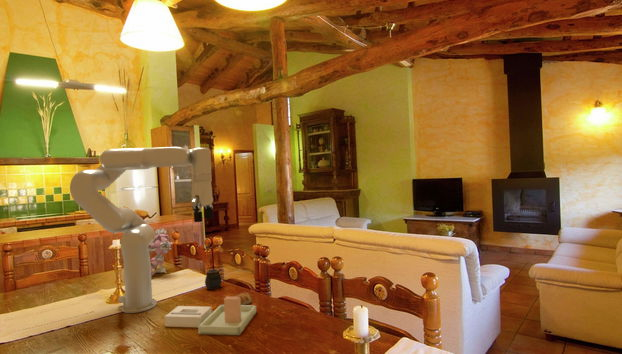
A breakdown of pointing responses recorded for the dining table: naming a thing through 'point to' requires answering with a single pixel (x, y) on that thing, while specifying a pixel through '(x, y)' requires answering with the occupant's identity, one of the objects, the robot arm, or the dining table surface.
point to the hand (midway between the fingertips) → (203, 220)
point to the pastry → (244, 298)
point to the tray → (220, 327)
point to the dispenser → (187, 316)
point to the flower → (159, 250)
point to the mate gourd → (213, 279)
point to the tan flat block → (232, 309)
